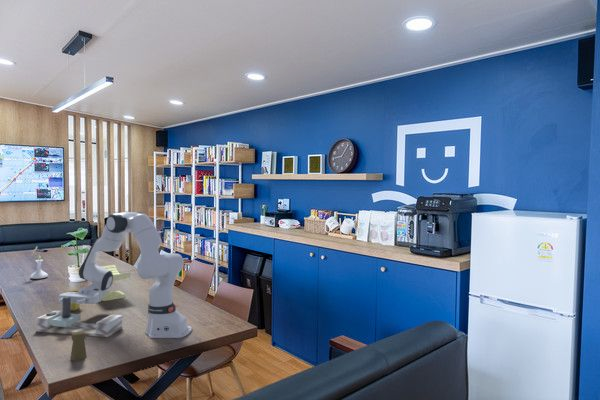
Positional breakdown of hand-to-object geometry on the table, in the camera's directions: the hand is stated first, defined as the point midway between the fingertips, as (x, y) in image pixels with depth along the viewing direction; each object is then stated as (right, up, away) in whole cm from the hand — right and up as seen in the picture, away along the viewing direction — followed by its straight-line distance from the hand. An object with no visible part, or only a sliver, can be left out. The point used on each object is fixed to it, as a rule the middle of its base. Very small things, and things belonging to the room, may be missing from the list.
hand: (68, 302), depth 197 cm
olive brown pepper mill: (+24, -15, -33) cm, 43 cm away
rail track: (+7, -13, -2) cm, 15 cm away
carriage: (0, -12, -1) cm, 12 cm away
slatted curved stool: (-6, -11, +54) cm, 56 cm away
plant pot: (-15, -12, +29) cm, 35 cm away
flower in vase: (-81, -8, +97) cm, 127 cm away
